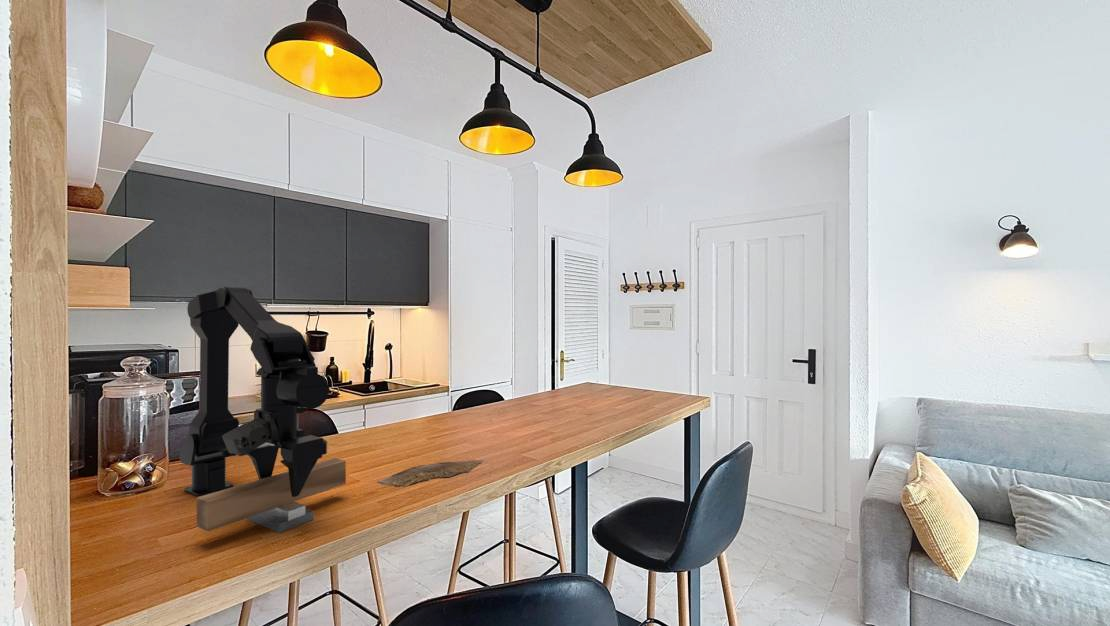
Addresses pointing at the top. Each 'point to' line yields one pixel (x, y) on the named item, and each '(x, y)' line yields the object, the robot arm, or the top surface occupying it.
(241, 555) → the top surface
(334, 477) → the walnut bar
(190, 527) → the top surface
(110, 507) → the top surface
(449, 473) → the wooden fragment
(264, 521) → the grey flat stepped block
